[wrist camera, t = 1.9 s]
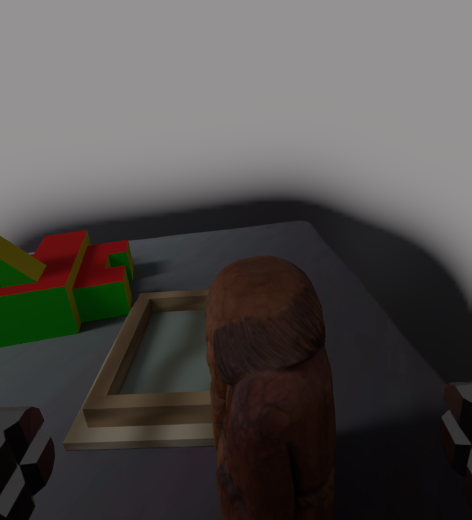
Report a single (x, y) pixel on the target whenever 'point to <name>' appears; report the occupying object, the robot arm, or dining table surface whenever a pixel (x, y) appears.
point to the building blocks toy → (61, 286)
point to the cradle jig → (151, 380)
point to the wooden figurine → (270, 393)
